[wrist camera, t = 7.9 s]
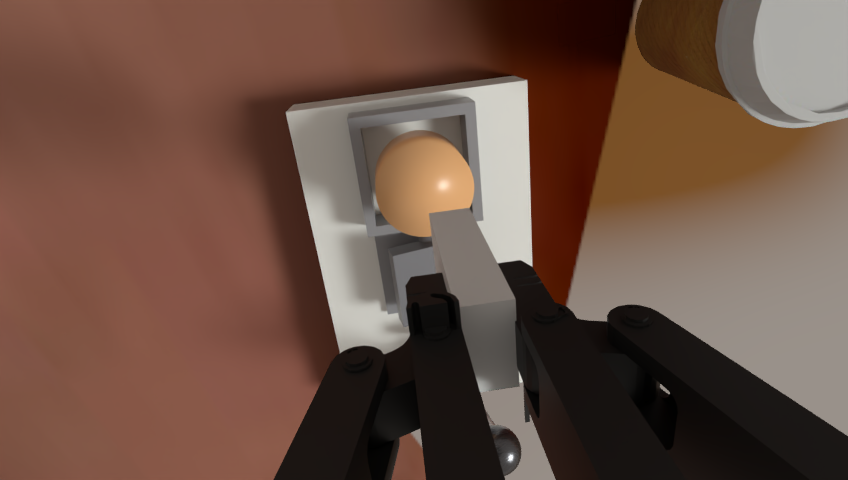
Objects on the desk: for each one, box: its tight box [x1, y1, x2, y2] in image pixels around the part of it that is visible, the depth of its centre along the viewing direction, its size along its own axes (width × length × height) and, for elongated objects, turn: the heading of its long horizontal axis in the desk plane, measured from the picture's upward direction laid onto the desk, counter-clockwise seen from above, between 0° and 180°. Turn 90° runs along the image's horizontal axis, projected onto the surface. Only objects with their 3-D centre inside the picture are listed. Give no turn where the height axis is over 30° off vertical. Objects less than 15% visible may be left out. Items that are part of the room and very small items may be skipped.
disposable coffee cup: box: [635, 0, 848, 128], centre depth 25 cm, size 10×10×12 cm
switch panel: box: [286, 76, 532, 383], centre depth 33 cm, size 14×22×5 cm, turn 7°
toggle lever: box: [485, 410, 521, 476], centre depth 30 cm, size 3×3×10 cm
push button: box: [375, 130, 474, 237], centre depth 26 cm, size 5×5×3 cm
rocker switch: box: [388, 236, 436, 327], centre depth 31 cm, size 5×6×2 cm
